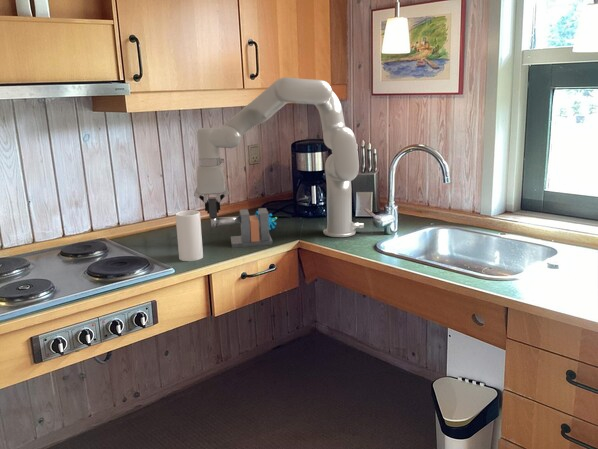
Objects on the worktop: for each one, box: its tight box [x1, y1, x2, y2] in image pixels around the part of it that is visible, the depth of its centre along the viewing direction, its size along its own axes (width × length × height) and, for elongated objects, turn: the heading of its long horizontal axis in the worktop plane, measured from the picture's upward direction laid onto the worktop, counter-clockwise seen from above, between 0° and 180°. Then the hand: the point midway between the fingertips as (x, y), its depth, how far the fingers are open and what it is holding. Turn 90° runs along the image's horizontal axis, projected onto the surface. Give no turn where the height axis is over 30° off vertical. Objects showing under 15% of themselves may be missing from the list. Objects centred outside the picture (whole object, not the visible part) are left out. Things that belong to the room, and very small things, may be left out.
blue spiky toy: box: [254, 210, 278, 232], centre depth 228 cm, size 11×6×10 cm
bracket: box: [230, 207, 274, 249], centre depth 207 cm, size 15×10×12 cm, turn 99°
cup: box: [175, 209, 204, 262], centre depth 191 cm, size 8×8×16 cm
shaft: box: [207, 196, 241, 228], centre depth 204 cm, size 12×4×11 cm, turn 99°
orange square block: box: [249, 214, 259, 242], centre depth 207 cm, size 3×8×8 cm, turn 9°
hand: (213, 212), depth 203 cm, fingers closed on shaft, 2 cm apart
